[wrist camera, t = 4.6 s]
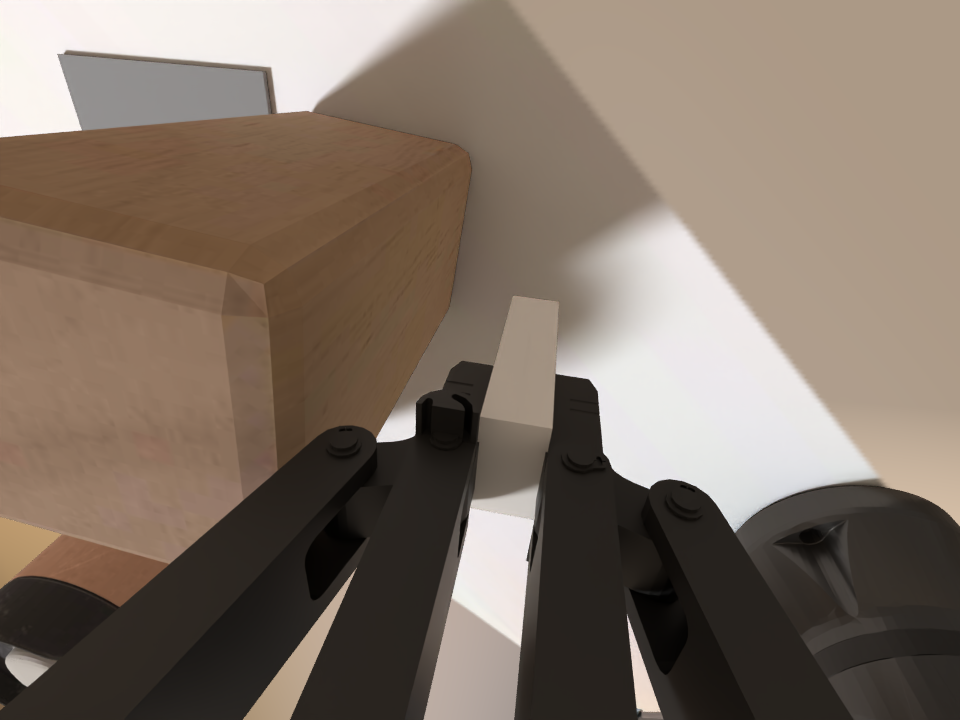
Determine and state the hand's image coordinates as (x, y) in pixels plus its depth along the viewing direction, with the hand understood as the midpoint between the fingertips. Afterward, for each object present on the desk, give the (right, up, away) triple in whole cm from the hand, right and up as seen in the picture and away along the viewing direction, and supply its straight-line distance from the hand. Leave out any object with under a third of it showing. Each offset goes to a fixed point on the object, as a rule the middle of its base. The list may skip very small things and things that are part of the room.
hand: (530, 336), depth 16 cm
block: (-8, +8, +12) cm, 16 cm away
